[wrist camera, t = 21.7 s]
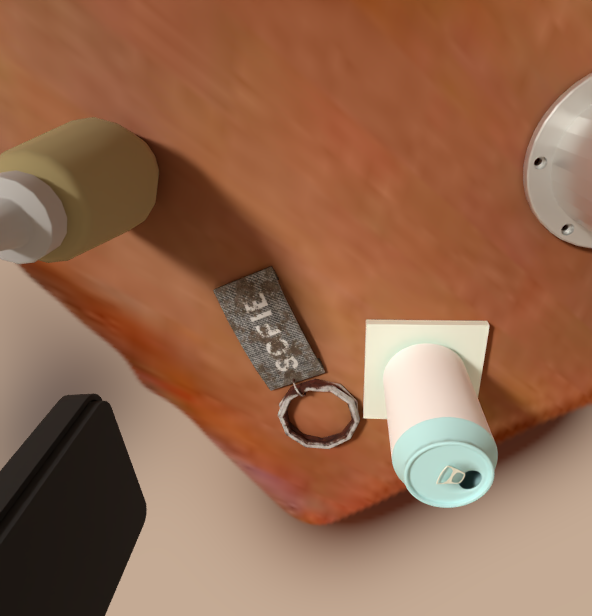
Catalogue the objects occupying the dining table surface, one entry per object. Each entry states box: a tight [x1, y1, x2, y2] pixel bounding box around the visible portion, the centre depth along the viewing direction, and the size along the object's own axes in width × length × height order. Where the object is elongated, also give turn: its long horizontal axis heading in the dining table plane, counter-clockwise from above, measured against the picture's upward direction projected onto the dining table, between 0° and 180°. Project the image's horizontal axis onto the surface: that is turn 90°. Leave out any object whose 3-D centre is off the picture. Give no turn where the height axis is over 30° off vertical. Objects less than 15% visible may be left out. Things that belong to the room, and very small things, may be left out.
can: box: [383, 343, 498, 508], centre depth 37 cm, size 7×7×12 cm
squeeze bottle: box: [0, 117, 159, 264], centre depth 30 cm, size 8×8×18 cm
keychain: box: [213, 266, 360, 449], centre depth 44 cm, size 8×19×2 cm, turn 25°
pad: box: [363, 320, 490, 419], centre depth 43 cm, size 10×10×1 cm
